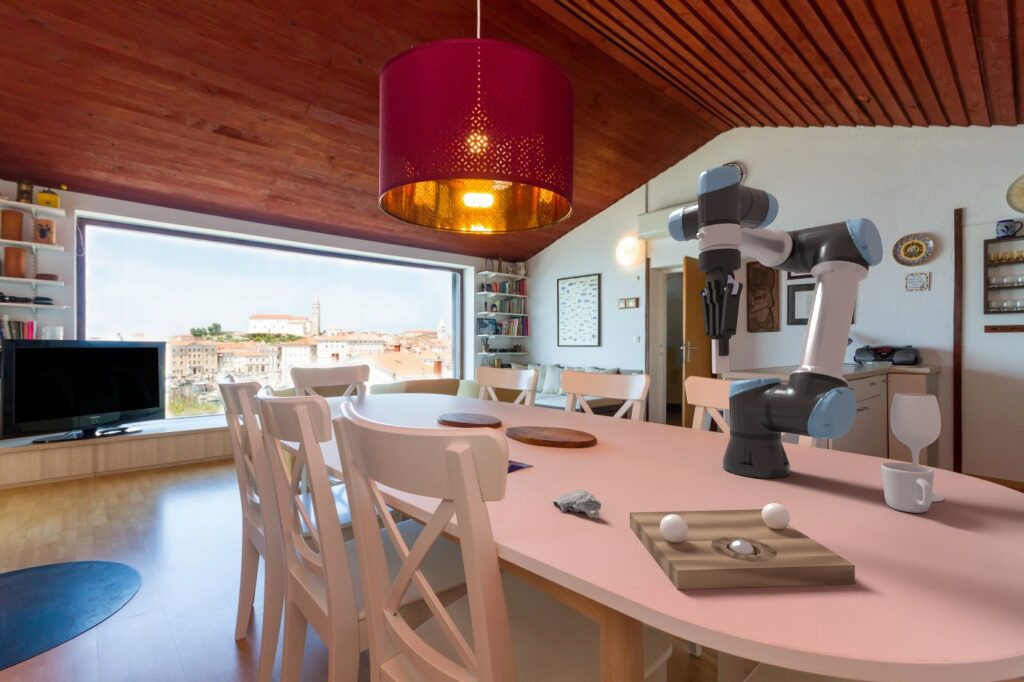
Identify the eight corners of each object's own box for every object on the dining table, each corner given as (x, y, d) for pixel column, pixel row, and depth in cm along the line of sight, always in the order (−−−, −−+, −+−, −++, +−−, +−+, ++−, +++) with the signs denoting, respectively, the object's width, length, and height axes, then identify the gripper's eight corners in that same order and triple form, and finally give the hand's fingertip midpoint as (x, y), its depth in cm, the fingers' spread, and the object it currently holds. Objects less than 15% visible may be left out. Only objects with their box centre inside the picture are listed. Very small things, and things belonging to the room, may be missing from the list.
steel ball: (722, 550, 73) (726, 536, 71) (744, 547, 74) (749, 532, 72) (733, 572, 70) (738, 557, 68) (757, 568, 71) (762, 554, 69)
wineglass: (893, 486, 108) (891, 391, 108) (945, 495, 102) (944, 394, 102) (886, 495, 102) (884, 394, 102) (941, 505, 96) (940, 397, 96)
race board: (629, 526, 86) (629, 512, 86) (763, 523, 87) (762, 509, 87) (677, 589, 64) (677, 570, 64) (855, 583, 65) (854, 564, 65)
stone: (570, 525, 88) (571, 502, 88) (549, 502, 100) (549, 482, 100) (604, 522, 89) (604, 500, 89) (579, 500, 101) (579, 480, 101)
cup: (955, 523, 86) (955, 477, 86) (904, 520, 88) (903, 475, 88) (918, 503, 97) (917, 463, 97) (872, 501, 98) (872, 461, 98)
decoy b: (656, 536, 75) (656, 510, 75) (682, 536, 75) (681, 510, 75) (665, 547, 71) (665, 520, 71) (692, 547, 71) (692, 519, 71)
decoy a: (756, 524, 80) (756, 499, 80) (780, 523, 80) (780, 499, 80) (770, 533, 76) (770, 508, 76) (795, 533, 76) (795, 507, 76)
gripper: (686, 256, 100) (688, 371, 100) (715, 243, 87) (717, 375, 87) (722, 256, 101) (723, 371, 101) (756, 243, 88) (758, 375, 88)
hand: (720, 373), depth 94 cm, fingers closed
